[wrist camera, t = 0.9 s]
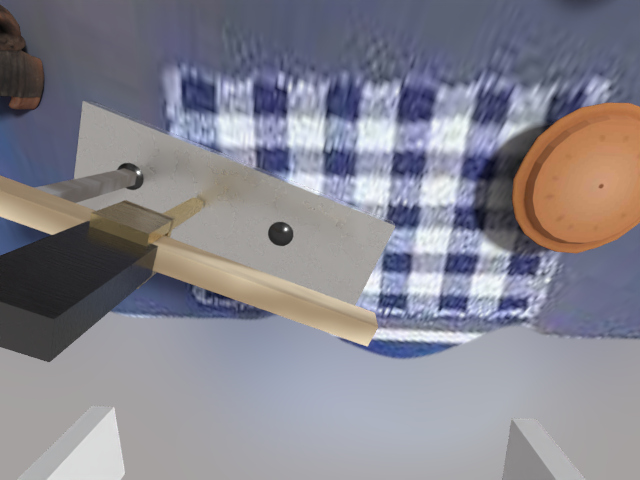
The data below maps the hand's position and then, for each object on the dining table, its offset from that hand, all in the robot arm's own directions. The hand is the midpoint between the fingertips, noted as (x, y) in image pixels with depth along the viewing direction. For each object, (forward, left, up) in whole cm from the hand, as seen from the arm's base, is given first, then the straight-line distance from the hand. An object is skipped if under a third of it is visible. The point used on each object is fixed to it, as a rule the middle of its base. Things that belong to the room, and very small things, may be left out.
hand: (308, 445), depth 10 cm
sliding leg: (+4, -14, -27) cm, 31 cm away
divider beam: (+4, -10, -27) cm, 29 cm away
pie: (-14, +24, -30) cm, 41 cm away
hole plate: (+4, -10, -29) cm, 31 cm away
